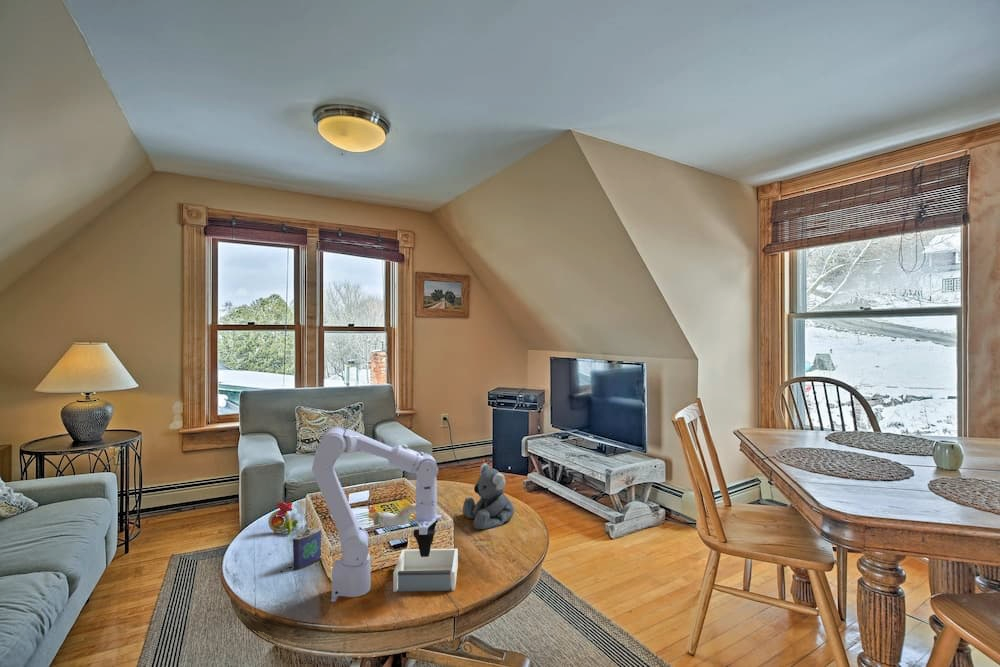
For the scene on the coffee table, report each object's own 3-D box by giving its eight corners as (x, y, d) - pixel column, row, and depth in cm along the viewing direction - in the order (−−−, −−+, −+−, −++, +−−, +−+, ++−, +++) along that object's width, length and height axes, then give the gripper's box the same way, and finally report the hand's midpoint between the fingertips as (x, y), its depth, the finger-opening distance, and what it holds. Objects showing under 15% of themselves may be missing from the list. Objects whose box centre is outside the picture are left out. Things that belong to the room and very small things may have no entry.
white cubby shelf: (393, 596, 122) (393, 573, 122) (402, 570, 135) (402, 549, 135) (454, 594, 123) (454, 572, 122) (457, 569, 136) (457, 548, 136)
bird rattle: (272, 543, 158) (298, 530, 159) (258, 514, 157) (284, 501, 158) (278, 535, 164) (303, 523, 165) (264, 507, 163) (289, 495, 165)
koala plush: (460, 515, 176) (459, 463, 176) (503, 507, 184) (502, 457, 184) (477, 532, 161) (477, 476, 161) (523, 523, 168) (523, 469, 168)
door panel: (397, 591, 122) (397, 573, 122) (398, 589, 123) (398, 571, 123) (450, 590, 122) (450, 572, 122) (450, 588, 124) (450, 570, 124)
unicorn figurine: (425, 548, 149) (425, 506, 149) (365, 547, 150) (365, 505, 150) (430, 538, 156) (430, 498, 156) (373, 537, 157) (372, 497, 157)
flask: (318, 555, 144) (318, 521, 144) (324, 558, 143) (324, 523, 143) (291, 568, 137) (291, 532, 136) (297, 571, 135) (297, 534, 135)
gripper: (438, 510, 121) (438, 562, 121) (443, 490, 135) (443, 537, 135) (410, 510, 120) (411, 563, 120) (419, 491, 135) (419, 538, 135)
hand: (426, 549), depth 128 cm, fingers open, 7 cm apart
